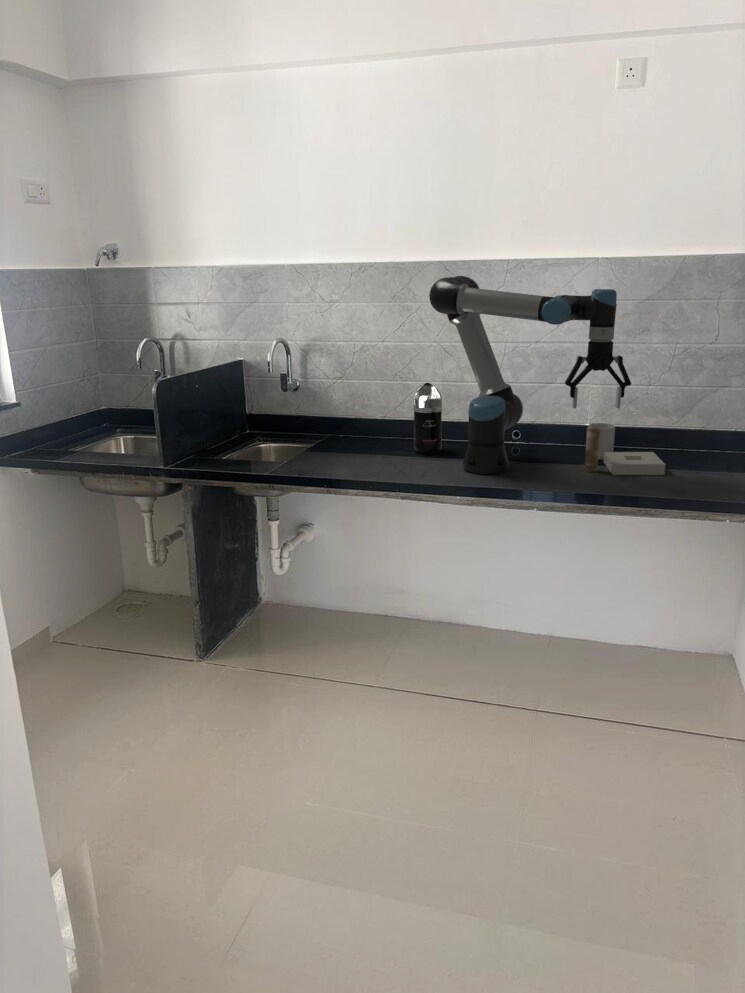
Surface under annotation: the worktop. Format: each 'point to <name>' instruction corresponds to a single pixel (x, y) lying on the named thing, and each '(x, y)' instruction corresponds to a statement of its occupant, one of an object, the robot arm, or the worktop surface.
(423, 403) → the black silver bottle
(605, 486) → the worktop surface
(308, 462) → the worktop surface
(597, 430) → the peg
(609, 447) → the mug
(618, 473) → the socket block
